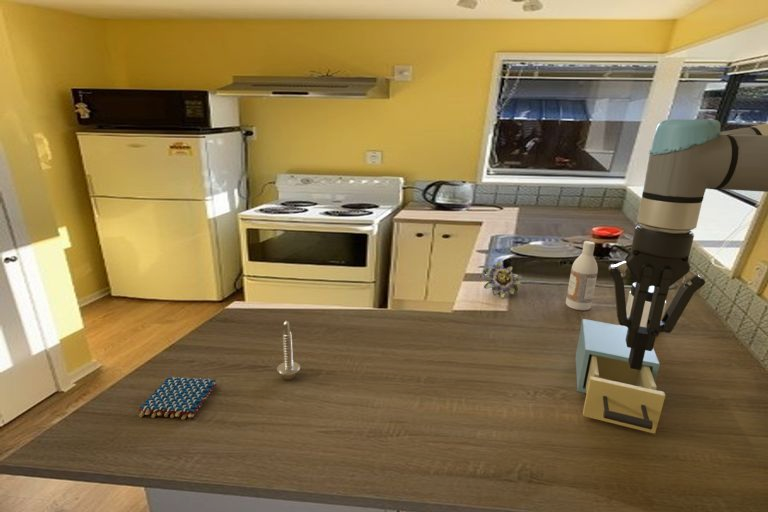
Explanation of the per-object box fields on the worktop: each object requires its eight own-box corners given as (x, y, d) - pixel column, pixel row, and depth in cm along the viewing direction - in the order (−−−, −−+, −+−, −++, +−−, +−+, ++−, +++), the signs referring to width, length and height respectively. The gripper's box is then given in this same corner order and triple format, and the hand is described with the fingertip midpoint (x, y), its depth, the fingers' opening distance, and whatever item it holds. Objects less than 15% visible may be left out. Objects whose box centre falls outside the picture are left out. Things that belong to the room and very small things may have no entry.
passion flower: (499, 313, 134) (485, 288, 127) (485, 293, 143) (471, 270, 137) (530, 294, 133) (518, 268, 126) (513, 276, 142) (501, 251, 136)
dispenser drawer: (661, 456, 69) (673, 416, 67) (584, 436, 73) (592, 397, 71) (642, 390, 86) (651, 356, 84) (580, 376, 90) (586, 344, 88)
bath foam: (561, 301, 130) (572, 238, 124) (583, 301, 131) (595, 239, 124) (571, 311, 124) (583, 245, 118) (595, 311, 124) (607, 246, 118)
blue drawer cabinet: (648, 407, 83) (659, 364, 79) (577, 391, 87) (585, 349, 84) (636, 368, 96) (646, 329, 93) (575, 356, 100) (582, 318, 97)
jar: (643, 320, 119) (653, 281, 115) (666, 334, 111) (677, 292, 108) (615, 322, 118) (623, 282, 114) (636, 336, 110) (646, 294, 106)
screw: (296, 367, 93) (304, 379, 89) (274, 374, 90) (281, 386, 86) (293, 313, 88) (302, 323, 85) (270, 318, 86) (278, 328, 82)
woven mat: (167, 383, 86) (166, 374, 85) (218, 386, 86) (217, 377, 85) (136, 417, 76) (134, 408, 76) (194, 421, 76) (192, 411, 75)
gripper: (709, 226, 64) (674, 362, 72) (613, 218, 69) (590, 346, 76) (725, 237, 58) (686, 386, 65) (618, 228, 62) (592, 368, 70)
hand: (634, 365), depth 71 cm, fingers closed
